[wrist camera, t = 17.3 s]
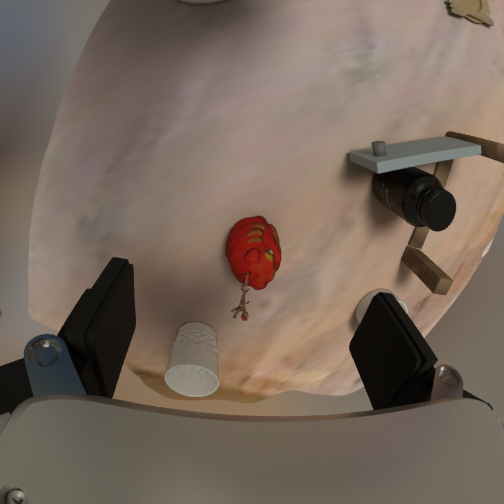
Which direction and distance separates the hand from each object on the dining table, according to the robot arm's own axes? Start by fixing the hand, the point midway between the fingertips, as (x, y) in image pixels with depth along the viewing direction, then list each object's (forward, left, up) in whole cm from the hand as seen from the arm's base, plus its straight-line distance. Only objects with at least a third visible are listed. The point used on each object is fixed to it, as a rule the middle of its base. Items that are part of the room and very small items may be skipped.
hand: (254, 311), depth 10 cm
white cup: (+28, -1, -28) cm, 39 cm away
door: (-10, +20, -27) cm, 35 cm away
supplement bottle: (-4, +21, -28) cm, 35 cm away
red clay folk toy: (+9, +4, -28) cm, 29 cm away
